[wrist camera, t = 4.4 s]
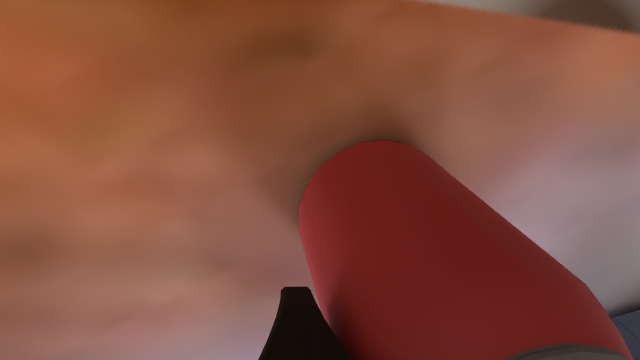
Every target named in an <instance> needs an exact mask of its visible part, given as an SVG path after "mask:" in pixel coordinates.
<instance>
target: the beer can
mask: <svg viewBox="0 0 640 360" xmlns="http://www.w3.org/2000/svg"><path fill="white" fill-rule="evenodd" d="M299 225H300V235H301V239H302V243H303V246H304V250H305V254H306V257H307V261H308V265H309V268H310V272H311V276H312V279H313V283H314V286H315V290H316V294H317V297H318V301H319V305H320V308H321V312H322V315H323V316H324V318H325V320H326V322H327V323H328V325H329V326H330V328H331V330H332V331H333V333H334V334H335V336H336V337H337V339H338V340H339V342H340V343H341V345H342V346H343V348H344V349H345V350H346V352H347V353H348V354H349V356H350V357H351V358H352V360H634V359H633V357H632V355H631V353H630V351H629V349H628V347H627V346H626V344H625V342H624V340H623V338H622V336H621V334H620V332H619V331H618V329H617V328H616V326H615V325H614V323H613V322H612V320H611V319H610V317H609V316H608V314H607V312H606V311H605V309H604V308H603V307H602V305H601V304H600V303H599V301H598V300H597V299H596V297H595V296H594V295H593V293H592V292H591V291H590V289H589V288H588V287H587V285H586V284H585V283H584V282H582V281H581V280H580V279H579V278H577V277H576V276H575V275H574V274H572V273H571V272H570V271H569V270H568V269H566V268H565V267H564V266H563V265H561V264H560V263H559V262H558V261H556V260H555V259H554V258H553V257H551V256H550V255H549V254H548V253H547V252H545V251H544V250H543V249H542V248H540V247H539V246H538V245H537V244H535V243H534V242H533V241H532V240H531V239H529V238H528V237H527V236H526V235H524V234H523V233H522V232H521V231H519V230H518V229H517V228H516V227H514V226H513V225H512V224H511V223H510V222H508V221H507V220H506V219H505V218H503V217H502V216H501V215H500V214H498V213H497V212H496V211H495V210H494V209H492V208H491V207H490V206H489V205H487V204H486V203H485V202H484V201H482V200H481V199H480V198H479V197H478V196H476V195H475V194H474V193H473V192H471V191H470V190H469V189H468V188H466V187H465V186H464V185H463V184H461V183H460V182H459V181H458V180H457V179H455V178H454V177H453V176H452V175H450V174H449V173H448V172H447V171H445V170H444V169H443V168H442V167H441V166H439V165H438V164H437V163H436V162H434V161H433V160H432V159H431V158H429V157H428V156H426V155H425V154H423V153H422V152H420V151H418V150H417V149H415V148H414V147H412V146H411V145H407V144H403V143H398V142H393V141H389V140H383V141H373V142H363V143H360V144H358V145H355V146H353V147H351V148H348V149H346V150H343V151H341V152H339V153H337V154H336V155H335V156H334V157H332V158H331V159H330V160H329V161H328V162H326V163H325V164H324V165H323V166H322V167H320V168H319V169H318V170H317V172H316V174H315V175H314V177H313V178H312V180H311V181H310V183H309V184H308V186H307V187H306V189H305V191H304V194H303V198H302V202H301V206H300V209H299Z"/></svg>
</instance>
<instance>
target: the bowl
mask: <svg viewBox="0 0 640 360" xmlns="http://www.w3.org/2000/svg"><path fill="white" fill-rule="evenodd" d="M611 320H612V322H613V323H614V325H615V326H616V328H617V329H618V331H619V332H620V334H621V336H622V338H623V340H624V342H625V344H626V346H627V347H628V349H629V351H630V353H631V355H632V357H633V359H634V360H640V310H638V311H634V312H630V313H627V314H623V315H619V316H616V317H614V318H611Z"/></svg>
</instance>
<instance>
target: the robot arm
mask: <svg viewBox="0 0 640 360" xmlns="http://www.w3.org/2000/svg"><path fill="white" fill-rule="evenodd" d="M258 360H352V358H351V357H350V356H349V354H348V353H347V352H346V350H345V349H344V348H343V346H342V345H341V343H340V342H339V340H338V339H337V337H336V336H335V334H334V333H333V331H332V330H331V328H330V326H329V325H328V323H327V322H326V320H325V318H324V316H323V315H322V313H321V311H320V309H319V307H318V305H317V303H316V301H315V299H314V297H313V295H312V293H311V290H310V289H309V288H308V287H284V288H283V289H282V290H281V298H280V304H279V308H278V312H277V315H276V318H275V321H274V324H273V327H272V329H271V332H270V335H269V337H268V340H267V342H266V344H265V346H264V348H263V351H262V353H261V355H260V357H259V359H258Z"/></svg>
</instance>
